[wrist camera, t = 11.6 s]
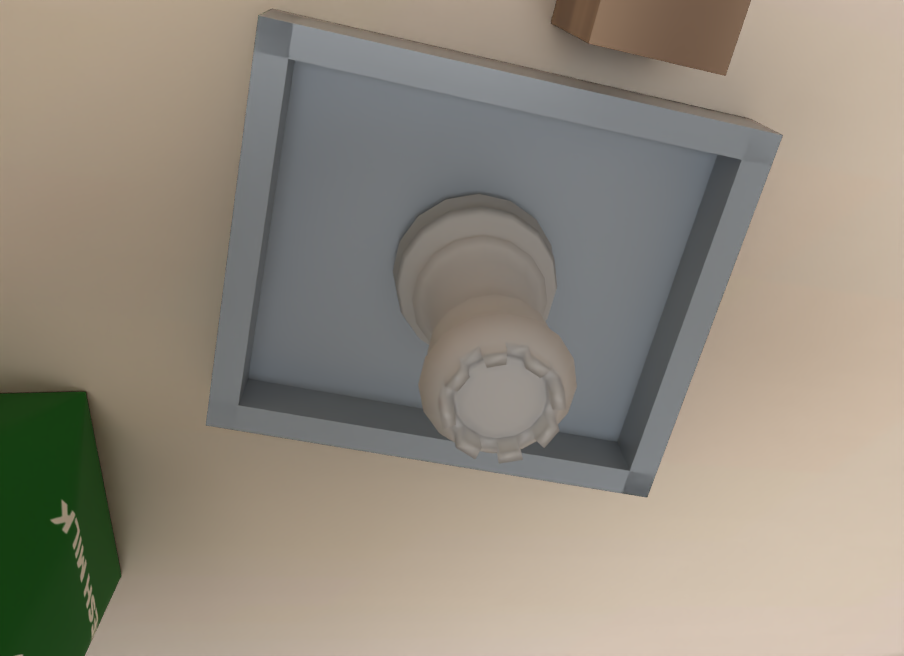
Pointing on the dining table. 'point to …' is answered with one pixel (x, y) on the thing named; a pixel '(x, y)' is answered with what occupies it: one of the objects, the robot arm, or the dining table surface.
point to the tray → (456, 175)
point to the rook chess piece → (485, 325)
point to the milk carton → (52, 526)
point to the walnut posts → (659, 28)
